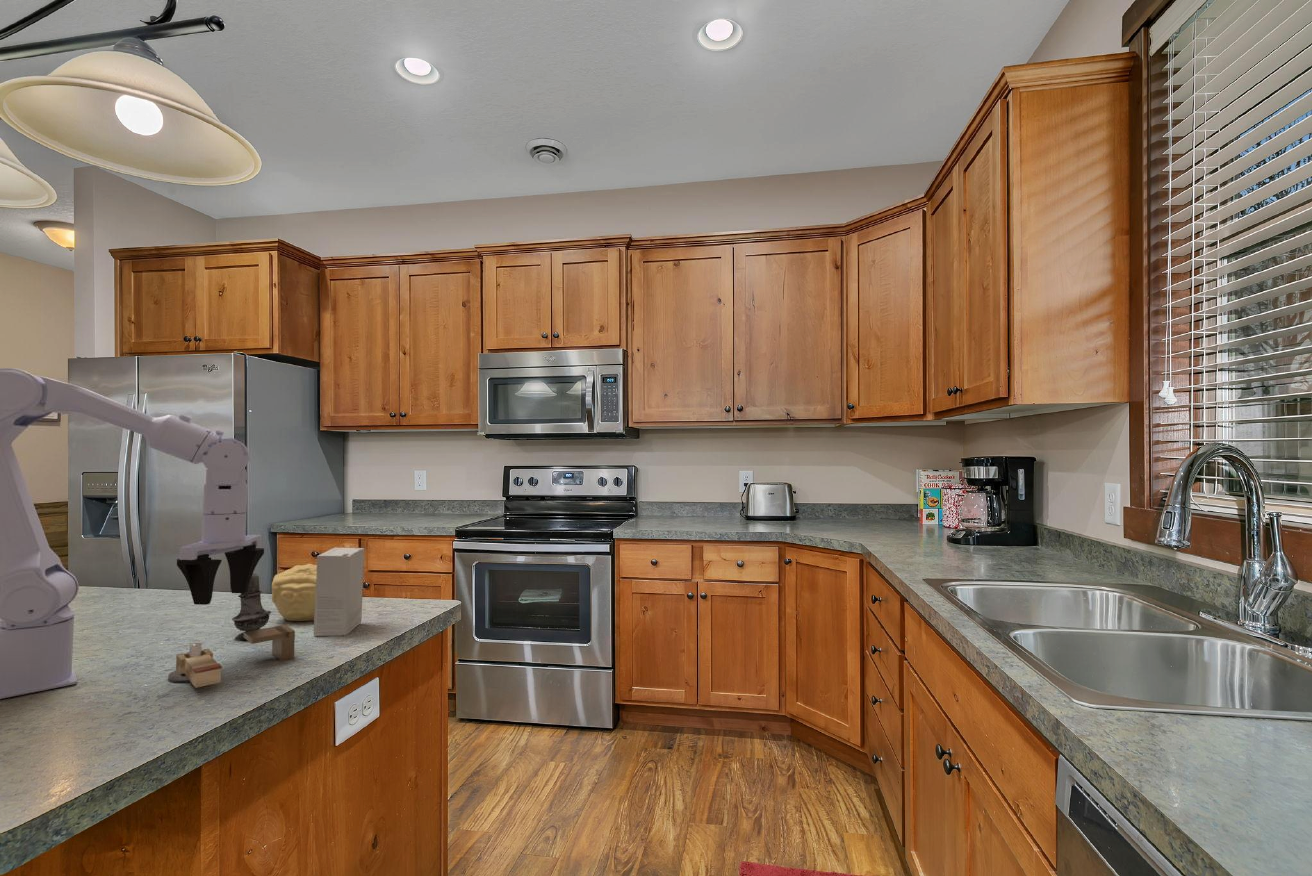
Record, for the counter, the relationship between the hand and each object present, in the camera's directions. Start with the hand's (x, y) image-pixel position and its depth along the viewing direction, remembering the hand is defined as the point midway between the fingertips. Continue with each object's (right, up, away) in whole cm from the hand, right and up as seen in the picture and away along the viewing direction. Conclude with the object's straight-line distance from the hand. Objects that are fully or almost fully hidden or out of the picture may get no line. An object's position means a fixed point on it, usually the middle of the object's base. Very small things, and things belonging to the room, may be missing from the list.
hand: (221, 598), depth 94 cm
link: (+4, -8, -9) cm, 13 cm away
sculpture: (-1, -11, +25) cm, 27 cm away
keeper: (+8, -10, 0) cm, 12 cm away
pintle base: (+1, -9, -7) cm, 12 cm away
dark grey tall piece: (-3, -10, +12) cm, 16 cm away
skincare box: (+10, -11, +16) cm, 22 cm away
